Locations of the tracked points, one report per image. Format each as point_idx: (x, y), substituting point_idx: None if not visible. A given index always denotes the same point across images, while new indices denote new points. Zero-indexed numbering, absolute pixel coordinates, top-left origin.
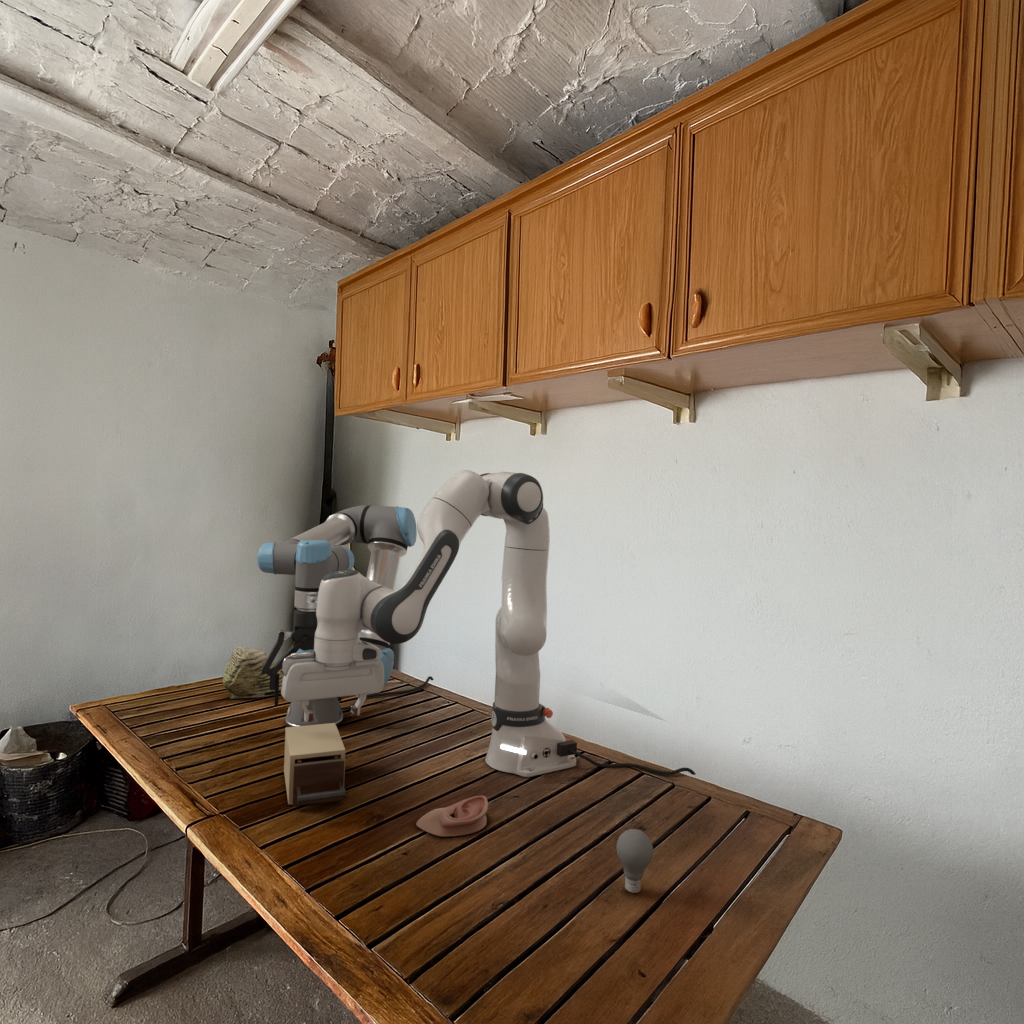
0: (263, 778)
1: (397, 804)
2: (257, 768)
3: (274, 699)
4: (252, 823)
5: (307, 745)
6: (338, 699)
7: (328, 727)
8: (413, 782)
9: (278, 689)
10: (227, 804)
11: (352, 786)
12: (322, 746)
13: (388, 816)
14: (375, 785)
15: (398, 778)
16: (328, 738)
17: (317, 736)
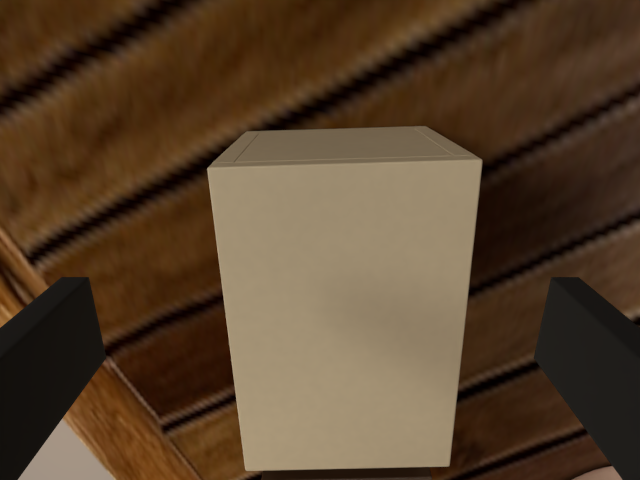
0: (180, 170)
1: (533, 415)
2: (146, 73)
3: (49, 290)
4: (186, 414)
5: (311, 405)
6: (543, 367)
7: (431, 226)
8: (630, 317)
9: (30, 460)
10: (104, 314)
11: None
12: (369, 426)
13: (492, 456)
14: (517, 307)
15: (600, 281)
16: (406, 358)
17: (361, 325)
